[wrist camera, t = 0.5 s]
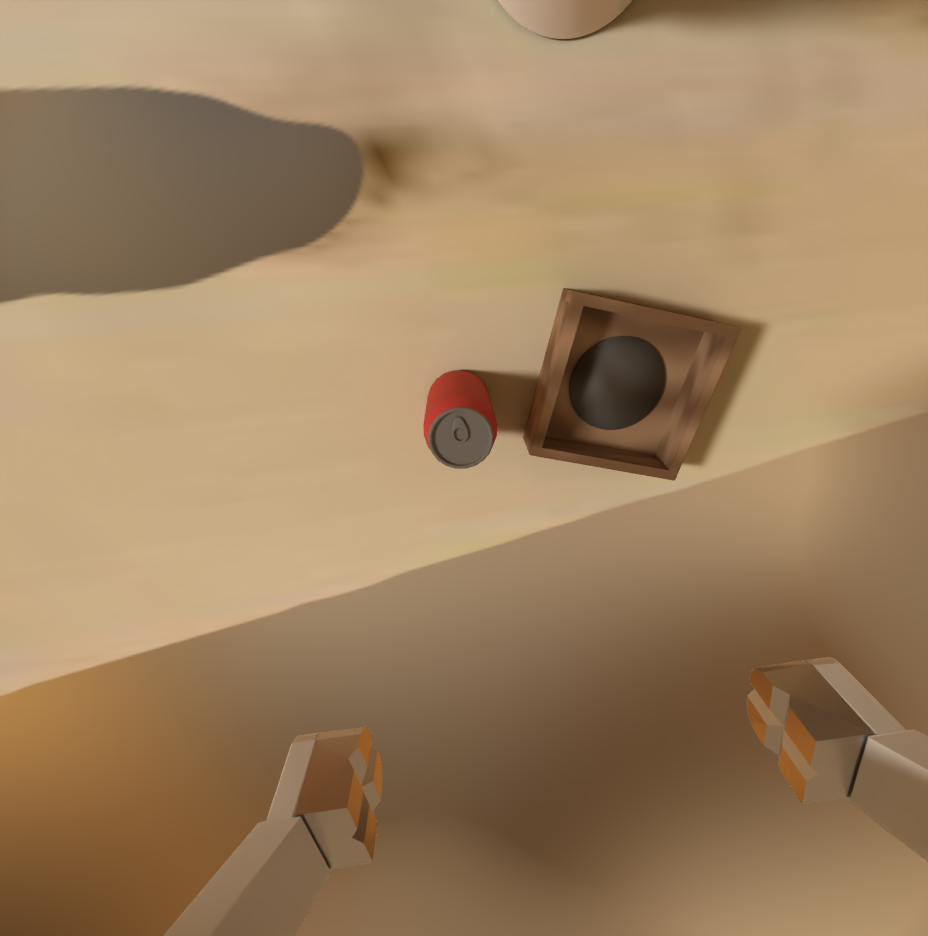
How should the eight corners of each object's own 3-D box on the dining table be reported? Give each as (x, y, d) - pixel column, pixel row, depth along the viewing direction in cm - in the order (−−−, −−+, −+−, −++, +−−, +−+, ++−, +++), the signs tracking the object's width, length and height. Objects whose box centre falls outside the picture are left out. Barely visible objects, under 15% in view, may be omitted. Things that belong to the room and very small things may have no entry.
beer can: (484, 364, 48) (495, 396, 37) (492, 423, 51) (504, 468, 40) (422, 373, 48) (415, 408, 37) (433, 431, 51) (429, 479, 40)
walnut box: (563, 288, 45) (576, 291, 40) (712, 321, 47) (741, 327, 42) (522, 437, 52) (530, 455, 47) (655, 461, 53) (674, 480, 49)
